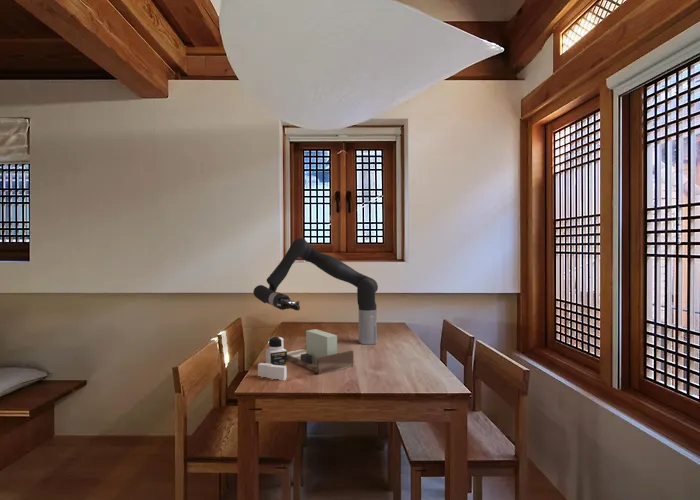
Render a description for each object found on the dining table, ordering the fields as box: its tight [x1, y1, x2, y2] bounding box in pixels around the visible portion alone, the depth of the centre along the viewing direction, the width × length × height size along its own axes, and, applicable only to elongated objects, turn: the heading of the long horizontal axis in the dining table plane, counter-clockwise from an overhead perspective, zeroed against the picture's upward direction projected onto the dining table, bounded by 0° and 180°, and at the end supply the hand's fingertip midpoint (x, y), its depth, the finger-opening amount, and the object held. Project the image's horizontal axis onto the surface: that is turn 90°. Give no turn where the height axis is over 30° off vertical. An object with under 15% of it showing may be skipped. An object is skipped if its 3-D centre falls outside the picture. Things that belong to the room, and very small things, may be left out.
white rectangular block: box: [257, 362, 288, 381], centre depth 164 cm, size 15×11×6 cm
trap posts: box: [301, 353, 312, 364], centre depth 183 cm, size 4×15×4 cm, turn 128°
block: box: [305, 328, 338, 364], centre depth 180 cm, size 16×5×13 cm, turn 38°
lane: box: [287, 348, 354, 375], centre depth 186 cm, size 36×17×6 cm, turn 38°
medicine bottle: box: [265, 336, 288, 366], centre depth 178 cm, size 7×7×12 cm
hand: (298, 308), depth 198 cm, fingers closed
